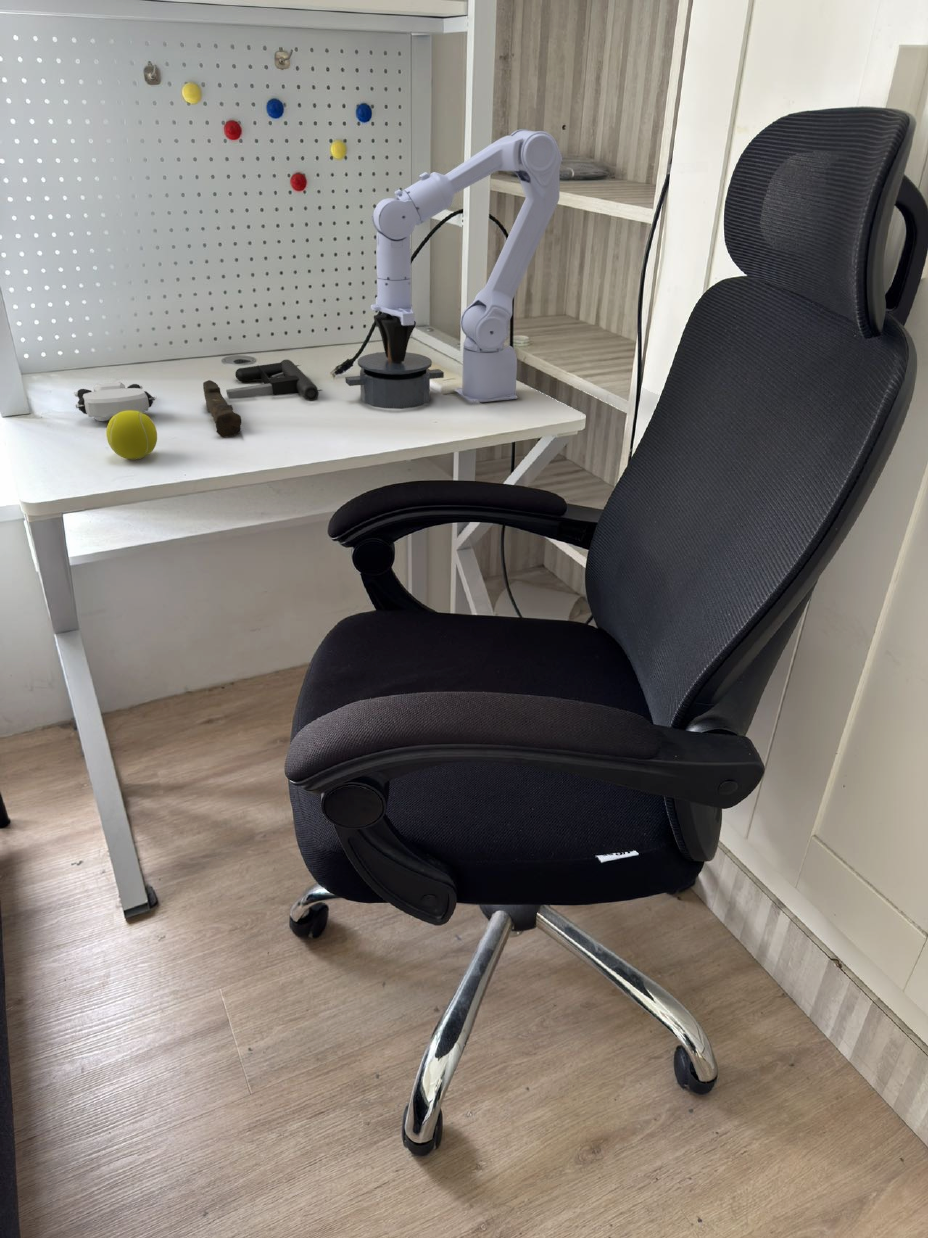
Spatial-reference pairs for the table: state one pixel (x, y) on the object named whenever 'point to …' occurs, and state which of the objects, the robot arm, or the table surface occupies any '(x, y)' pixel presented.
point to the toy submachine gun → (274, 381)
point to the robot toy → (112, 400)
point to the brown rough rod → (221, 411)
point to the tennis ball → (131, 434)
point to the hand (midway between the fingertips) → (394, 359)
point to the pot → (395, 388)
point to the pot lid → (394, 363)
